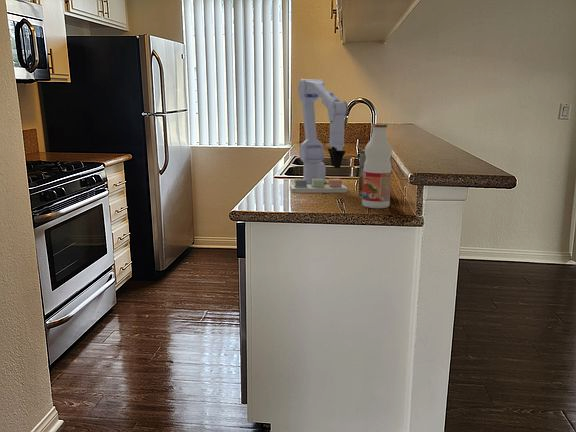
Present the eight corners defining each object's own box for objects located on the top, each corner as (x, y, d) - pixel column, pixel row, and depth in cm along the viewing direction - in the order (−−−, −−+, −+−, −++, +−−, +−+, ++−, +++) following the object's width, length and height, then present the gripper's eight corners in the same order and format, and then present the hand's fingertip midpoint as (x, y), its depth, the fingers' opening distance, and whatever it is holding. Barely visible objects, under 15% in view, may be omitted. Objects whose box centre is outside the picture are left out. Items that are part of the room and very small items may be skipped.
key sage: (322, 184, 210) (322, 178, 209) (324, 186, 205) (324, 180, 205) (311, 184, 209) (312, 178, 209) (313, 186, 205) (313, 180, 204)
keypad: (342, 188, 213) (342, 184, 213) (347, 192, 204) (347, 188, 203) (289, 188, 212) (289, 184, 211) (291, 192, 202) (291, 188, 202)
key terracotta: (339, 184, 210) (339, 178, 210) (341, 186, 206) (341, 180, 205) (328, 184, 210) (329, 178, 209) (330, 186, 206) (330, 180, 205)
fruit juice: (392, 208, 174) (397, 124, 168) (365, 209, 173) (369, 124, 167) (385, 203, 183) (389, 123, 177) (359, 203, 182) (362, 123, 176)
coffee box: (385, 194, 200) (387, 153, 197) (380, 197, 195) (382, 154, 191) (363, 192, 204) (364, 151, 201) (357, 194, 199) (359, 153, 195)
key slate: (305, 184, 209) (305, 178, 208) (306, 186, 205) (306, 180, 204) (294, 184, 209) (294, 178, 208) (295, 186, 204) (295, 180, 204)
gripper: (324, 131, 210) (323, 164, 213) (329, 133, 196) (328, 169, 199) (341, 131, 211) (340, 164, 213) (348, 133, 196) (346, 169, 199)
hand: (335, 167), depth 206 cm, fingers open, 5 cm apart
